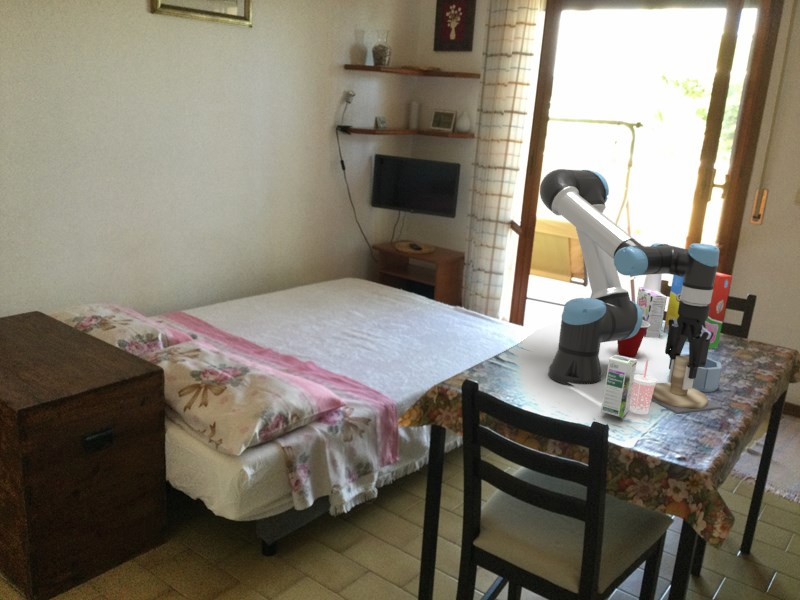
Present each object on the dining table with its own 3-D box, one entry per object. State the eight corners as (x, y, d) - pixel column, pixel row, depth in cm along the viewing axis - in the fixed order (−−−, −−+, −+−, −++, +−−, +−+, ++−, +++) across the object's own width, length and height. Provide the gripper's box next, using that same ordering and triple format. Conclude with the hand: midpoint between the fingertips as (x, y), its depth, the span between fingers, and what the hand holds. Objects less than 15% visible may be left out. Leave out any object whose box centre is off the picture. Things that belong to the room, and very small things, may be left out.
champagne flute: (641, 328, 258) (651, 266, 253) (657, 333, 253) (668, 270, 248) (632, 330, 254) (641, 268, 248) (648, 335, 249) (658, 271, 243)
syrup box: (600, 412, 173) (608, 358, 169) (607, 405, 178) (615, 353, 174) (622, 418, 170) (631, 363, 166) (629, 411, 175) (637, 358, 171)
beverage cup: (654, 411, 176) (663, 360, 173) (645, 417, 171) (654, 365, 168) (632, 404, 180) (640, 354, 177) (622, 410, 175) (630, 358, 172)
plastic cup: (640, 362, 216) (646, 326, 213) (606, 354, 222) (612, 319, 219) (648, 354, 225) (654, 320, 222) (615, 347, 231) (620, 313, 228)
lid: (677, 411, 176) (684, 369, 173) (636, 389, 189) (643, 350, 187) (719, 406, 182) (727, 365, 179) (677, 386, 195) (684, 348, 193)
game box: (661, 335, 251) (674, 263, 245) (673, 334, 253) (685, 262, 247) (706, 352, 233) (720, 275, 226) (717, 351, 235) (732, 275, 228)
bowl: (693, 393, 191) (697, 370, 190) (659, 377, 203) (663, 355, 201) (727, 390, 196) (731, 367, 195) (692, 374, 208) (696, 353, 206)
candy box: (631, 328, 257) (638, 286, 253) (647, 329, 257) (654, 287, 253) (643, 339, 243) (651, 294, 239) (660, 340, 243) (667, 296, 239)
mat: (676, 413, 176) (677, 412, 175) (634, 391, 190) (634, 389, 190) (722, 408, 182) (722, 406, 182) (677, 386, 196) (677, 385, 196)
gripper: (732, 310, 173) (715, 396, 179) (680, 294, 189) (666, 373, 194) (710, 311, 170) (694, 398, 176) (659, 295, 186) (646, 375, 191)
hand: (679, 385), depth 185 cm, fingers open, 4 cm apart
